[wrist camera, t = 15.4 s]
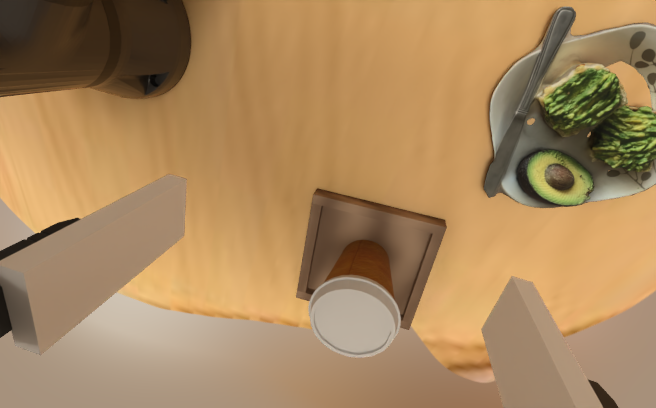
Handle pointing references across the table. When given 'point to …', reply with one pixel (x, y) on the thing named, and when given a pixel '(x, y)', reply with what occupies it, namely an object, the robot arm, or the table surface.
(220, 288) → the table surface
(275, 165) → the table surface
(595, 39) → the salad plate
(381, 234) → the walnut tray
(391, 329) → the disposable coffee cup
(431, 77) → the table surface
